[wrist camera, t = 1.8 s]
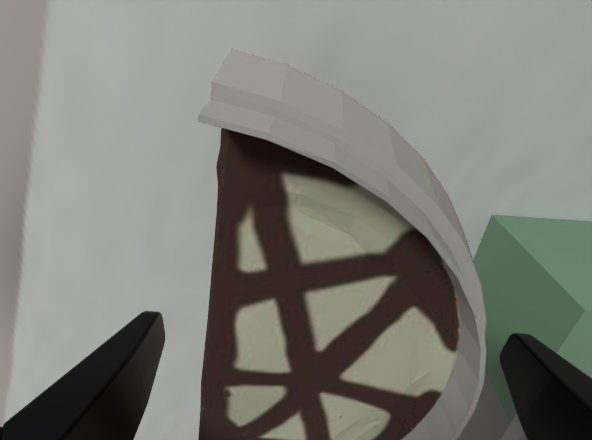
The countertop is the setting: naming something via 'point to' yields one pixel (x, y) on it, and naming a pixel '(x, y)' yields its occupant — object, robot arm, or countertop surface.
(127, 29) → the countertop surface
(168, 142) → the countertop surface
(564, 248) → the green block on stand
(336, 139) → the food container
